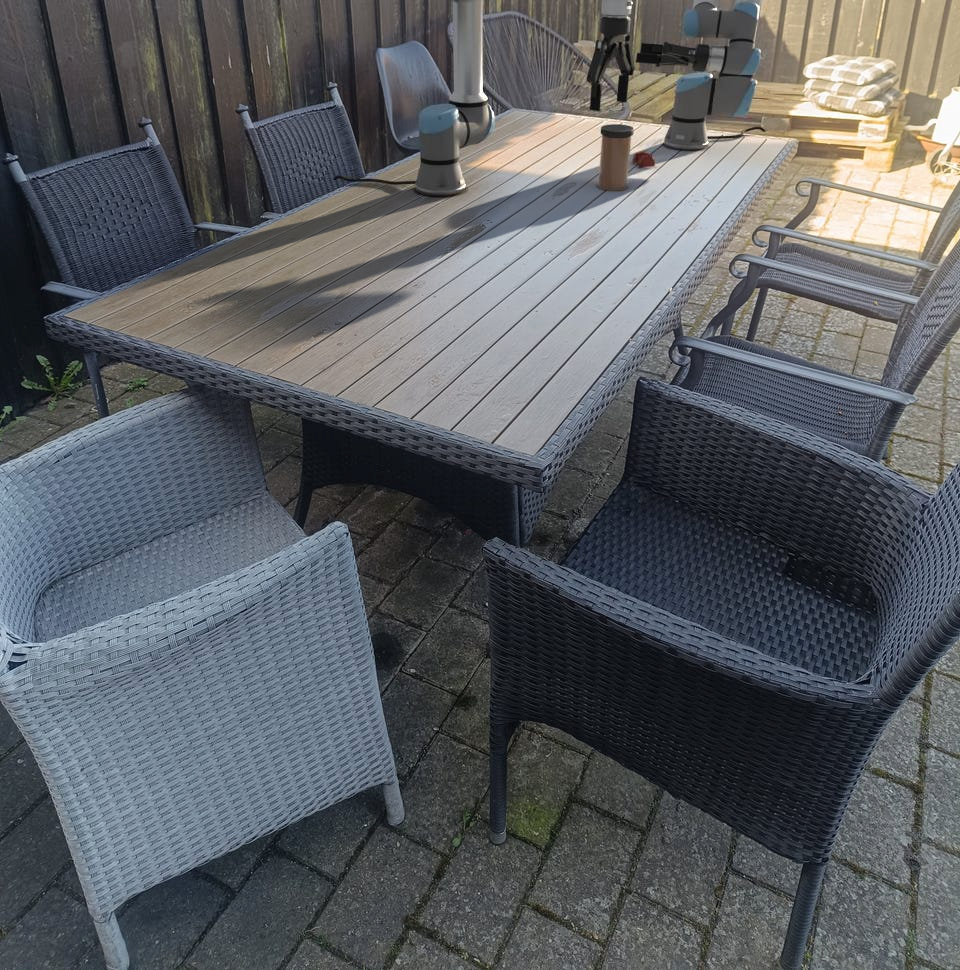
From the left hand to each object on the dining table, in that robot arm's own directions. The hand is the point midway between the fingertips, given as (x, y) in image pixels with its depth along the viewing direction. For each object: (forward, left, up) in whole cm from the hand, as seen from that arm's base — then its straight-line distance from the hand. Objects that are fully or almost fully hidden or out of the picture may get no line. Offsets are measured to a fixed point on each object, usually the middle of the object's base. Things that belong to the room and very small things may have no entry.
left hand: (608, 106), depth 226 cm
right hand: (-18, +46, +6) cm, 50 cm away
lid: (-10, +22, -11) cm, 27 cm away
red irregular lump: (-14, +50, -28) cm, 59 cm away
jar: (-10, +22, -28) cm, 37 cm away
